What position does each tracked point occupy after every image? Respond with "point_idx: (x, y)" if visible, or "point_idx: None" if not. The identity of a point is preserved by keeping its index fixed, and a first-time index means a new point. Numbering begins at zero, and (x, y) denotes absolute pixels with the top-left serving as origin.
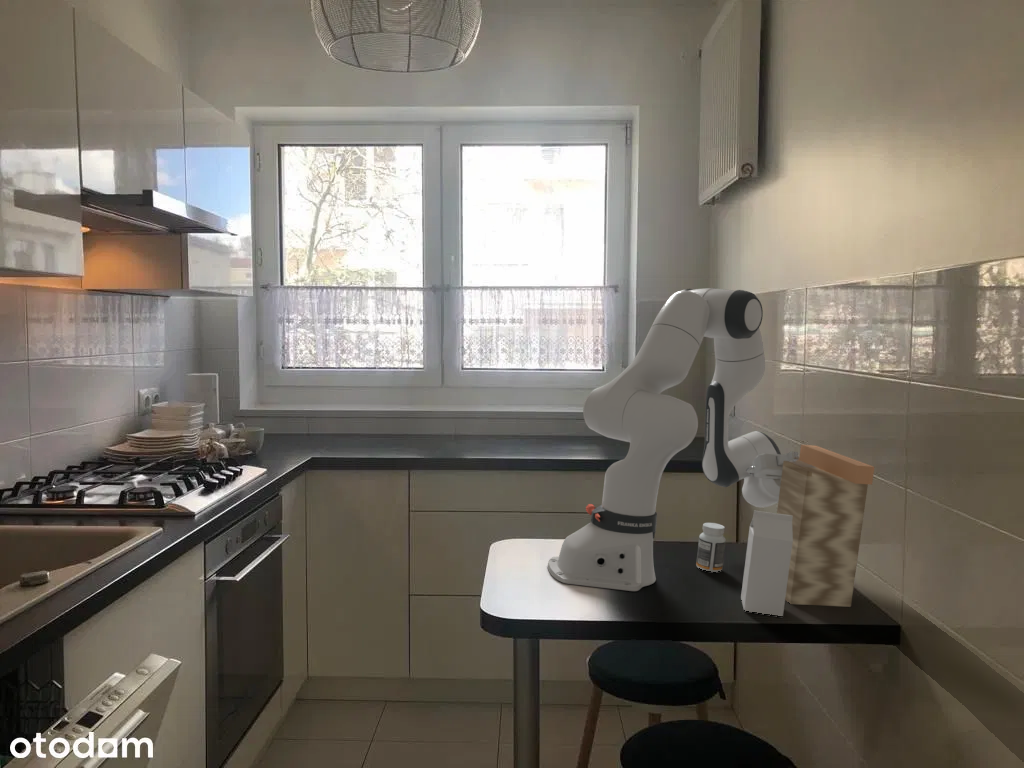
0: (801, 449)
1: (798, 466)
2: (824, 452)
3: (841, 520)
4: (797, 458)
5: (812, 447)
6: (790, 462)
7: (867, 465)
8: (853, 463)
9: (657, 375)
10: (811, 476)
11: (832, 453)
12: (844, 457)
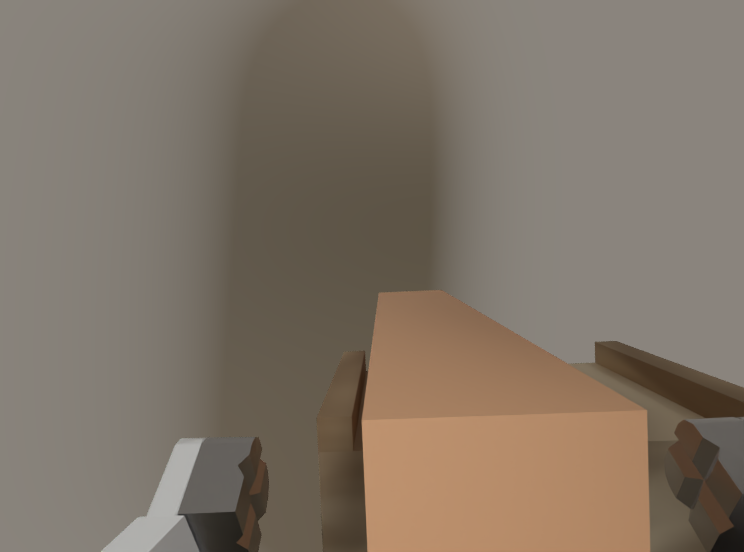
0: (631, 479)
1: (657, 360)
2: (474, 320)
3: None
4: (676, 471)
5: (506, 360)
6: (717, 387)
7: (395, 292)
8: (438, 293)
9: None
10: (596, 362)
11: (422, 320)
12: (407, 307)
